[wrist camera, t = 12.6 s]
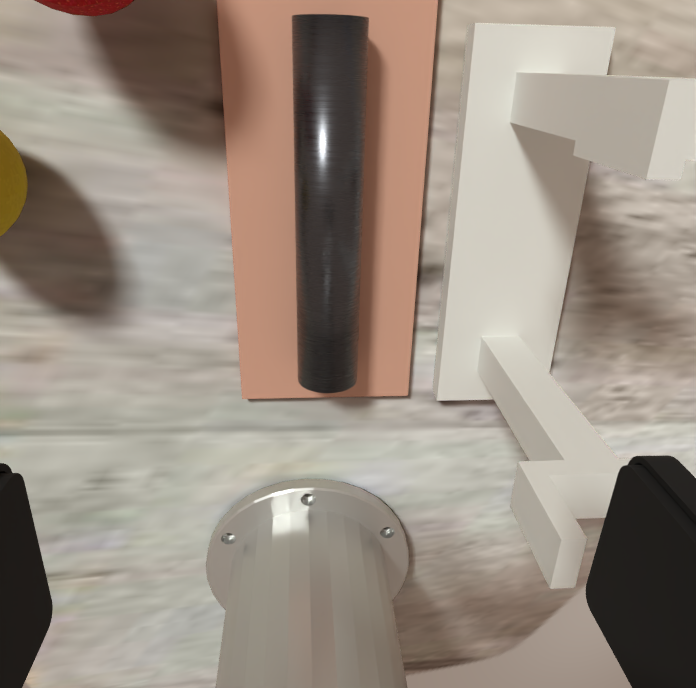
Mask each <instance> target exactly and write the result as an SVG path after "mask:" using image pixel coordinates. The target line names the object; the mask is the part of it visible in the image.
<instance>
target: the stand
mask: <svg viewBox="0 0 696 688" xmlns="http://www.w3.org/2000/svg"><path fill="white" fill-rule="evenodd" d="M615 30H616V27H593V26H561V25H528V24H496V23H473V24H468V28H467V38H466V48H465V59H464V69H463V79H462V90H461V100H460V110H459V121H458V131H457V141H456V152H455V162H454V172H453V183H452V193H451V203H450V214H449V224H448V234H447V245H446V255H445V265H444V276H443V286H442V297H441V307H440V317H439V328H438V338H437V348H436V359H435V369H434V379H433V392H434V395H435V397H436V399H437V401H448V400H494V401H495V402H496V404H497V406H498V408H499V409H500V411H501V413H502V414H503V416H504V418H505V420H506V421H507V423H508V425H509V426H510V428H511V430H512V432H513V433H514V435H515V437H516V439H517V440H518V442H519V444H520V445H521V447H522V449H523V451H524V452H525V454H526V456H527V457H528V459H529V461H518V464H517V470H516V476H515V481H514V487H513V492H512V498H511V503H510V507H511V509H512V511H513V513H514V515H515V517H516V519H517V521H518V523H519V526H520V528H521V530H522V532H523V534H524V536H525V538H526V540H527V542H528V544H529V546H530V549H531V551H532V553H533V555H534V557H535V559H536V561H537V563H538V565H539V567H540V569H541V571H542V574H543V576H544V578H545V580H546V582H547V584H548V586H549V588H550V589H560V588H575V585H576V581H577V577H578V574H579V570H580V566H581V562H582V558H583V554H584V551H585V547H586V543H587V537H586V536H585V534H584V532H583V531H582V529H581V527H580V526H579V524H578V522H577V521H576V519H586V518H606V514H607V511H608V507H609V504H610V500H611V497H612V493H613V490H614V486H615V483H616V479H617V476H618V472H619V470H620V468H621V467H622V466H625V465H628V463H629V461H630V460H631V459H632V458H620V459H619V458H618V457H617V456H616V455H615V454H614V452H613V451H612V450H611V449H610V447H609V446H608V445H607V444H606V442H605V441H604V440H603V439H602V438H601V436H600V435H599V434H598V433H597V431H596V430H595V429H594V428H593V426H592V425H591V424H590V423H589V422H588V420H587V419H586V418H585V417H584V415H583V414H582V413H581V412H580V410H579V409H578V408H577V407H576V405H575V404H574V403H573V402H572V401H571V399H570V398H569V397H568V396H567V394H566V393H565V392H564V391H563V389H562V388H561V387H560V386H559V385H558V383H557V382H556V381H555V380H554V378H553V377H552V376H551V375H550V373H549V372H550V367H551V362H552V357H553V352H554V346H555V341H556V336H557V331H558V326H559V320H560V315H561V310H562V305H563V300H564V294H565V289H566V284H567V279H568V274H569V268H570V263H571V258H572V253H573V248H574V242H575V237H576V232H577V227H578V222H579V217H580V211H581V206H582V201H583V196H584V191H585V185H586V180H587V175H588V170H589V165H590V161H591V162H594V163H597V164H600V165H603V166H606V167H609V168H612V169H615V170H618V171H621V172H624V173H627V174H630V175H633V176H636V177H639V178H642V179H645V180H681V178H682V174H683V170H684V166H685V162H686V161H696V78H671V77H644V76H617V75H607V71H608V66H609V61H610V55H611V50H612V45H613V40H614V35H615Z"/></svg>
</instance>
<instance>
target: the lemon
mask: <svg viewBox="0 0 696 688" xmlns="http://www.w3.org/2000/svg"><path fill="white" fill-rule="evenodd" d="M27 186H28V183H27V176H26V170H25V166H24V164H23V161H22V159H21V157H20V154H19V152H18V151H17V149H16V148H15V147H14V145H13V144H12V142H11V141H10V139H9V138H8V137H7V136H6V135H5V134H4V133H3V132H2V131H1V130H0V236H2V235H3V234H4V233H5V232H6V231H7V230H8V229H9V228H10V227H11V226H12V225H13V224H14V222H15V221H16V220H17V219H18V217H19V215H20V213H21V211H22V208H23V206H24V204H25V201H26V195H27Z"/></svg>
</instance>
